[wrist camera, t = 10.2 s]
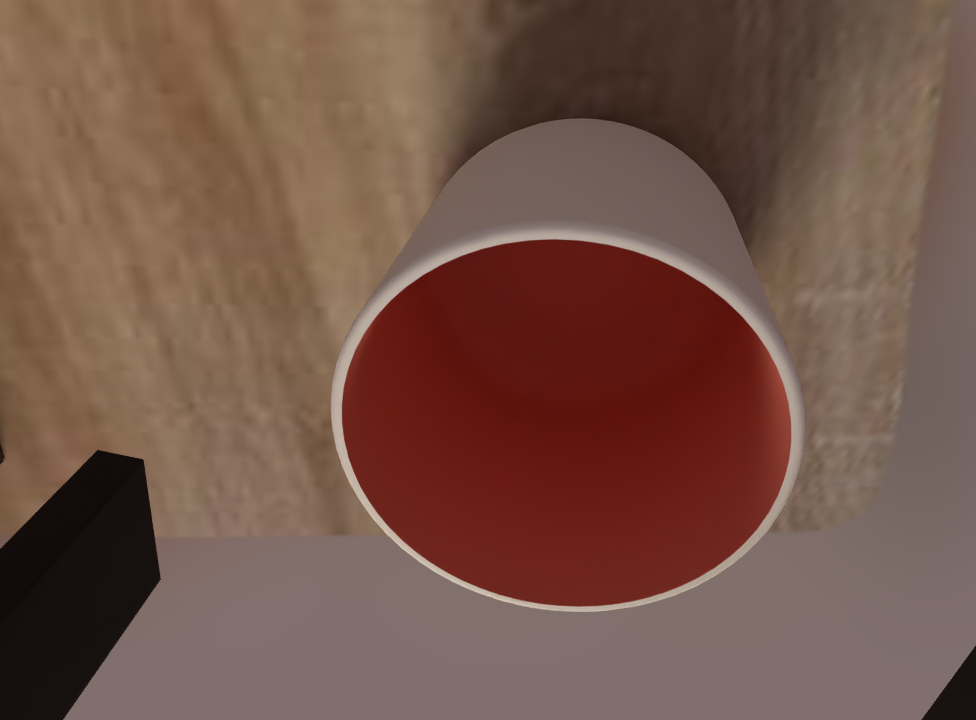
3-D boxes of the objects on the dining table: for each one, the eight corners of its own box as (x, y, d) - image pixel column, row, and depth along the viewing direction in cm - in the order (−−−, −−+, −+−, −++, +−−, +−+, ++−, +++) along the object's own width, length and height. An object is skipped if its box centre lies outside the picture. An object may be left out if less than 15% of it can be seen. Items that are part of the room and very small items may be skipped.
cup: (680, 50, 21) (725, 135, 12) (773, 346, 25) (857, 567, 16) (375, 184, 24) (240, 325, 15) (501, 426, 28) (450, 645, 19)
